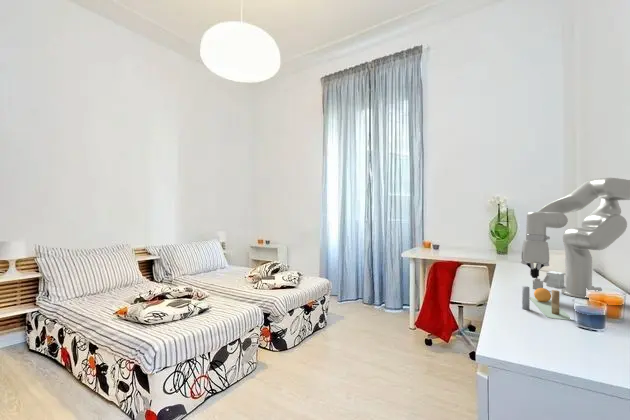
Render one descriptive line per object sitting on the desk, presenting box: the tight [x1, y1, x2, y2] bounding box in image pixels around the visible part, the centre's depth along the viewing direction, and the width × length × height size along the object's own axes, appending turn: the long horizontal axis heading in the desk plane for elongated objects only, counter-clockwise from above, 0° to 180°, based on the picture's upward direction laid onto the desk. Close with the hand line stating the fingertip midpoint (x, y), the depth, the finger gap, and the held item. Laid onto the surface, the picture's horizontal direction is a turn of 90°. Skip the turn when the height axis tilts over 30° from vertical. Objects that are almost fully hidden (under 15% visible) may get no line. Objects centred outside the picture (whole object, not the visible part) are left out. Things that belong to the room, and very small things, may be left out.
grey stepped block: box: [532, 274, 550, 290], centre depth 154 cm, size 7×2×8 cm, turn 52°
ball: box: [533, 287, 552, 302], centre depth 134 cm, size 6×6×6 cm
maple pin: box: [551, 289, 561, 315], centre depth 118 cm, size 2×2×9 cm
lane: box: [530, 297, 572, 321], centre depth 126 cm, size 28×8×1 cm, turn 157°
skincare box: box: [545, 270, 565, 289], centre depth 160 cm, size 6×6×7 cm
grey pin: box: [521, 285, 531, 311], centre depth 124 cm, size 2×2×9 cm
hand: (534, 277), depth 142 cm, fingers closed
